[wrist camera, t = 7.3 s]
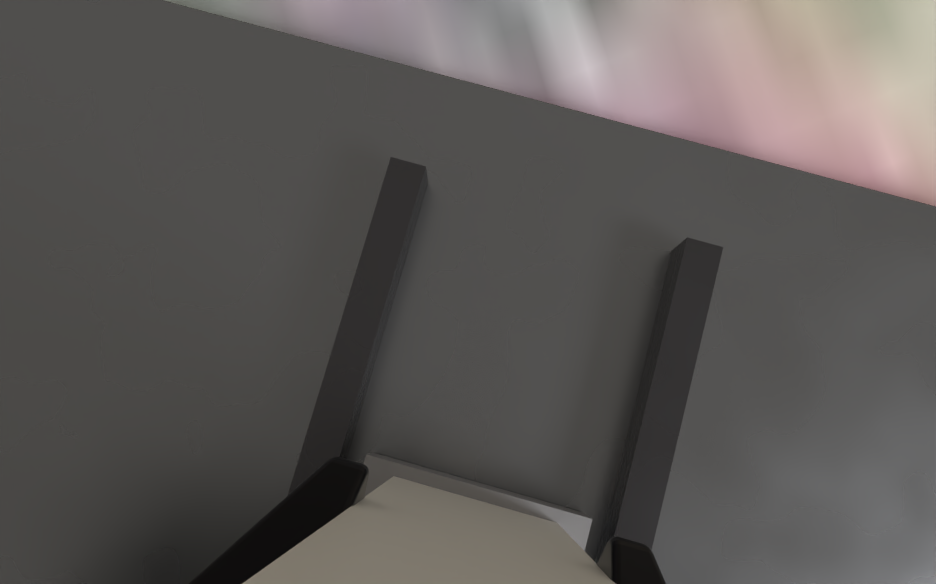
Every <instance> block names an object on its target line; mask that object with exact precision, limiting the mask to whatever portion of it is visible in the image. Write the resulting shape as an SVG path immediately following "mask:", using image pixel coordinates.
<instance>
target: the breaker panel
mask: <svg viewBox="0 0 936 584" xmlns="http://www.w3.org/2000/svg"><path fill="white" fill-rule="evenodd" d="M369 453H377V454H380V455H384V456H387V457H391V458H394V459H398V460H401V461H405V462H408V463H412V464H415V465H419V466H422V467H426V468H429V469H433V470H436V471H440V472H443V473H447V474H450V475H454V476H457V477H461V478H464V479H468V480H471V481H475V482H478V483H482V484H485V485H489V486H492V487H496V488H499V489H503V490H506V491H510V492H513V493H517V494H520V495H524V496H528V497H531V498H535V499H538V500H542V501H545V502H549V503H552V504H556V505H559V506H563V507H566V508H570V509H573V510H577V511H580V512H583V513H585V514H586V515H588V516H589V517H590V518H592V523H591V527H590V531H589V535H588V539H587V543H586V547H585V552H586V553H587V554H588V555H589V556H590V557H591V558H592V559H593V561H594V562H595V563H596V564H597V563H598V561H599V559H600V557H601V554H602V552H603V550H604V548H605V546H606V544H607V542H608V541H609V540H610V539H611V538H612V537H621V538H625V539H628V540H632V541H635V542H639V543H642V544H645V545H647V546H648V547H649V548H650V549H651V551H652V552H653V554H654V557H655V559H656V561H657V564H658V566H659V568H660V571H661V573H662V575H663V578H664V580H665V582H666V584H936V207H935V206H931V205H927V204H924V203H920V202H916V201H912V200H909V199H905V198H901V197H898V196H894V195H890V194H886V193H883V192H879V191H875V190H871V189H868V188H864V187H860V186H856V185H853V184H849V183H845V182H841V181H838V180H834V179H830V178H826V177H823V176H819V175H815V174H811V173H808V172H804V171H800V170H796V169H793V168H789V167H785V166H781V165H778V164H774V163H770V162H766V161H763V160H759V159H755V158H751V157H748V156H744V155H740V154H736V153H733V152H729V151H725V150H721V149H718V148H714V147H710V146H706V145H703V144H699V143H695V142H691V141H688V140H684V139H680V138H676V137H673V136H669V135H665V134H661V133H658V132H654V131H650V130H646V129H643V128H639V127H635V126H632V125H628V124H624V123H620V122H617V121H613V120H609V119H605V118H602V117H598V116H594V115H590V114H587V113H583V112H579V111H575V110H572V109H568V108H564V107H560V106H557V105H553V104H549V103H545V102H542V101H538V100H534V99H530V98H527V97H523V96H519V95H515V94H512V93H508V92H504V91H500V90H497V89H493V88H489V87H485V86H482V85H478V84H474V83H470V82H467V81H463V80H459V79H455V78H452V77H448V76H444V75H440V74H437V73H433V72H429V71H425V70H422V69H418V68H414V67H410V66H407V65H403V64H399V63H395V62H392V61H388V60H384V59H380V58H377V57H373V56H369V55H366V54H362V53H358V52H354V51H351V50H347V49H343V48H339V47H336V46H332V45H328V44H324V43H321V42H317V41H313V40H309V39H306V38H302V37H298V36H294V35H291V34H287V33H283V32H279V31H276V30H272V29H268V28H264V27H261V26H257V25H253V24H249V23H246V22H242V21H238V20H234V19H231V18H227V17H223V16H219V15H216V14H212V13H208V12H204V11H201V10H197V9H193V8H189V7H186V6H182V5H178V4H174V3H171V2H167V1H163V0H0V584H188V583H189V582H190V581H192V580H193V579H194V578H195V577H196V576H197V575H198V574H200V573H201V572H202V571H203V570H204V569H205V568H206V567H207V566H209V565H210V564H211V563H212V562H213V561H214V560H215V559H216V558H218V557H219V556H220V555H221V554H222V553H223V552H224V551H226V550H227V549H228V548H229V547H230V546H231V545H232V544H233V543H235V542H236V541H237V540H238V539H239V538H240V537H241V536H243V535H244V534H245V533H246V532H247V531H248V530H249V529H250V528H252V527H253V526H254V525H255V524H256V523H257V522H258V521H259V520H261V519H262V518H263V517H264V516H265V515H266V514H267V513H269V512H270V511H271V510H272V509H273V508H274V507H275V506H276V505H278V504H279V503H280V502H281V501H282V500H283V499H284V498H286V497H287V496H288V495H289V494H290V493H291V492H292V491H293V490H295V489H296V488H297V487H298V486H299V485H300V484H301V483H302V482H304V481H305V480H306V479H307V478H308V477H309V476H310V475H312V474H313V473H314V472H315V471H316V470H317V469H318V468H319V467H321V466H322V465H323V464H324V463H325V462H326V461H328V460H329V459H331V458H333V457H341V458H345V459H348V460H352V461H355V462H359V463H362V464H364V460H365V457H366V454H369Z"/></svg>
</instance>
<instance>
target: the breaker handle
mask: <svg viewBox="0 0 936 584" xmlns="http://www.w3.org/2000/svg"><path fill="white" fill-rule="evenodd" d="M364 465H366V466H367V467H368V469H369V476H368V482H367V487H366V492H365V498H364V499H363V500H361V501H360V502H358V503H357V504H356V505H354V506H351V507H349V508H348V509H347V510H345V511H344V512H342V513H341V514H340V515H338V516H337V517H335V518H334V519H333V520H331V521H330V522H328V523H327V524H326V525H324V526H323V527H321V528H320V529H318V530H317V531H316V532H314V533H313V534H311V535H310V536H309V537H307V538H306V539H304V540H303V541H302V542H300V543H299V544H297V545H296V546H294V547H293V548H292V549H290V550H289V551H287V552H286V553H285V554H283V555H282V556H280V557H279V558H278V559H276V560H275V561H273V562H272V563H271V564H269V565H268V566H266V567H265V568H263V569H262V570H261V571H259V572H258V573H256V574H255V575H254V576H252V577H251V578H249V579H248V580H247V581H245V582H244V583H242V584H616V583H615V582H613V581H612V580H611V579H610V578H609V577H608V576H607V575H606V574H605V573H604V572H603V571H602V570H601V569H600V568H599V567H598V566H597V564H596V563H595V562H594V561H593V559H592V558H591V557H590V556H589V555H588V554H587V553H586V552H585V547H586V543H587V539H588V535H589V531H590V527H591V523H592V518H590V517H589V516H588V515H586V514H585V513H583V512H580V511H577V510H573V509H570V508H566V507H563V506H559V505H556V504H552V503H549V502H545V501H542V500H538V499H535V498H531V497H528V496H524V495H520V494H517V493H513V492H510V491H506V490H503V489H499V488H496V487H492V486H489V485H485V484H482V483H478V482H475V481H471V480H468V479H464V478H461V477H457V476H454V475H450V474H447V473H443V472H440V471H436V470H433V469H429V468H426V467H422V466H419V465H415V464H412V463H408V462H405V461H401V460H398V459H394V458H391V457H387V456H384V455H380V454H377V453H369V454H366V457H365V460H364Z"/></svg>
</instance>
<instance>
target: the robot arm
mask: <svg viewBox="0 0 936 584" xmlns="http://www.w3.org/2000/svg"><path fill="white" fill-rule="evenodd" d="M368 476H369V469H368V467H367V466H366V465H364V464H362V463H359V462H355V461H352V460H348V459H345V458H341V457H333V458H331V459H329V460H328V461H326V462H325V463H324V464H323V465H322V466H321V467H319V468H318V469H317V470H316V471H315V472H314V473H313V474H312V475H310V476H309V477H308V478H307V479H306V480H305V481H304V482H302V483H301V484H300V485H299V486H298V487H297V488H296V489H295V490H293V491H292V492H291V493H290V494H289V495H288V496H287V497H286V498H284V499H283V500H282V501H281V502H280V503H279V504H278V505H276V506H275V507H274V508H273V509H272V510H271V511H270V512H269V513H267V514H266V515H265V516H264V517H263V518H262V519H261V520H259V521H258V522H257V523H256V524H255V525H254V526H253V527H252V528H250V529H249V530H248V531H247V532H246V533H245V534H244V535H243V536H241V537H240V538H239V539H238V540H237V541H236V542H235V543H233V544H232V545H231V546H230V547H229V548H228V549H227V550H226V551H224V552H223V553H222V554H221V555H220V556H219V557H218V558H216V559H215V560H214V561H213V562H212V563H211V564H210V565H209V566H207V567H206V568H205V569H204V570H203V571H202V572H201V573H200V574H198V575H197V576H196V577H195V578H194V579H193V580H192V581H190V582H189V583H188V584H242V583H244V582H245V581H247V580H248V579H249V578H251V577H252V576H254V575H255V574H256V573H258V572H259V571H261V570H262V569H263V568H265V567H266V566H268V565H269V564H271V563H272V562H273V561H275V560H276V559H278V558H279V557H280V556H282V555H283V554H285V553H286V552H287V551H289V550H290V549H292V548H293V547H294V546H296V545H297V544H299V543H300V542H302V541H303V540H304V539H306V538H307V537H309V536H310V535H311V534H313V533H314V532H316V531H317V530H318V529H320V528H321V527H323V526H324V525H326V524H327V523H328V522H330V521H331V520H333V519H334V518H335V517H337V516H338V515H340V514H341V513H342V512H344V511H345V510H347V509H348V508H349V507H351V506H354V505H356V504H357V503H358V502H360V501H361V500H363V499H364V498H365V492H366V487H367V482H368ZM597 566H598V567H599V568H600V569H601V570H602V571H603V572H604V573H605V574H606V575H607V576H608V577H609V578H610V579H611V580H612V581H613V582H615V583H616V584H666V582H665V580H664V578H663V575H662V573H661V571H660V568H659V566H658V564H657V561H656V559H655V557H654V554H653V552H652V551H651V549H650V548H649V547H648V546H647V545H645V544H642V543H639V542H635V541H632V540H628V539H625V538H621V537H612V538H611V539H610V540H609V541H608V542H607V544H606V546H605V548H604V550H603V552H602V554H601V557H600V559H599V561H598V563H597Z"/></svg>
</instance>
